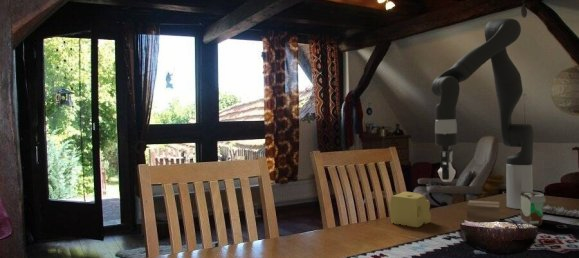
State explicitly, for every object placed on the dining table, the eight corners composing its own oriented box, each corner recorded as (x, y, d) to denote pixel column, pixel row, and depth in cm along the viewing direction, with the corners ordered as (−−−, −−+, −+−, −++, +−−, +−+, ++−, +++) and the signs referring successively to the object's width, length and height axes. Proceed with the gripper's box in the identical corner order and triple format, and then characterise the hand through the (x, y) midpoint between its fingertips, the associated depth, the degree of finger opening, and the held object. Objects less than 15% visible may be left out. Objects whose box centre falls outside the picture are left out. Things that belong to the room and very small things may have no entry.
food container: (552, 227, 143) (551, 197, 143) (531, 227, 144) (531, 196, 144) (538, 218, 155) (538, 190, 155) (519, 218, 156) (519, 190, 156)
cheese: (431, 222, 154) (431, 193, 154) (416, 228, 146) (416, 198, 146) (404, 218, 161) (403, 191, 161) (389, 223, 153) (388, 195, 153)
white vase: (456, 182, 156) (456, 163, 155) (438, 182, 157) (437, 163, 157) (455, 180, 161) (454, 161, 161) (437, 179, 163) (437, 161, 163)
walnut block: (469, 216, 161) (469, 200, 161) (499, 218, 156) (499, 202, 156) (467, 222, 152) (467, 205, 152) (499, 225, 147) (499, 207, 147)
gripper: (437, 131, 167) (438, 174, 167) (432, 133, 154) (433, 180, 155) (458, 130, 163) (459, 175, 164) (454, 133, 151) (455, 181, 151)
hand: (446, 177), depth 159 cm, fingers closed on white vase, 6 cm apart
